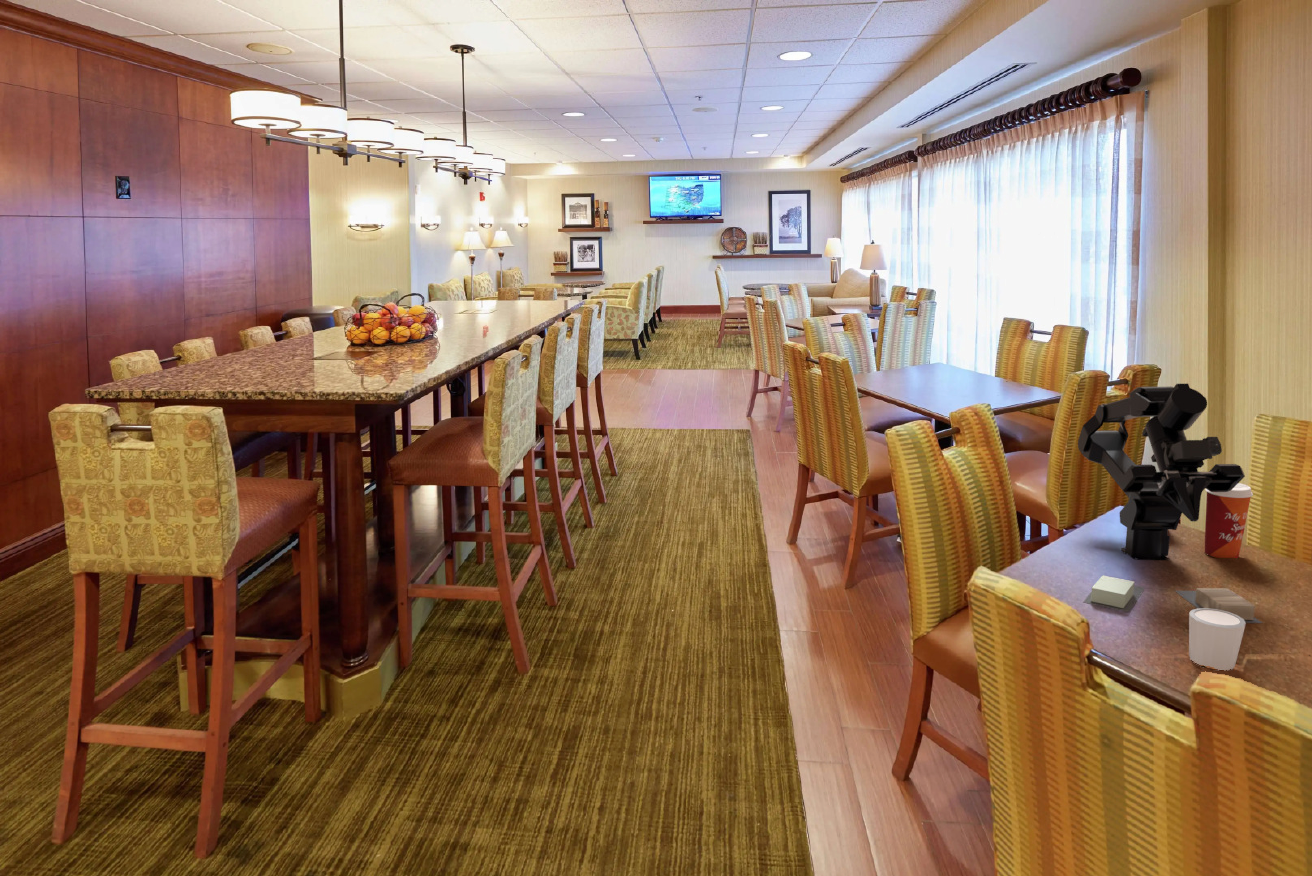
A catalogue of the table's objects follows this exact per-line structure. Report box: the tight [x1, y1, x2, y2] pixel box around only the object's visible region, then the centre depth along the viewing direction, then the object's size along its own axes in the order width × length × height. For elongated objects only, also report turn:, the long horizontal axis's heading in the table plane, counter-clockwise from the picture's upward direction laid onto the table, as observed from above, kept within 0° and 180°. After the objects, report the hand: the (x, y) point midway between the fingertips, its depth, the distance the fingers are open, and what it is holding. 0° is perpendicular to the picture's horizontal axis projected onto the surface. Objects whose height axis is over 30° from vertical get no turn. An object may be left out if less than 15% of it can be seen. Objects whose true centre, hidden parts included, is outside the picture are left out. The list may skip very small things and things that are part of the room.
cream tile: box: [1195, 587, 1256, 620], centre depth 139 cm, size 2×5×8 cm
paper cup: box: [1204, 482, 1254, 559], centre depth 164 cm, size 8×8×14 cm
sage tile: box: [1090, 575, 1135, 608], centre depth 145 cm, size 2×5×8 cm
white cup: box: [1188, 608, 1247, 672], centre depth 123 cm, size 7×7×7 cm
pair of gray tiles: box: [1083, 584, 1263, 624], centre depth 144 cm, size 25×18×1 cm
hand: (1195, 520), depth 147 cm, fingers closed
